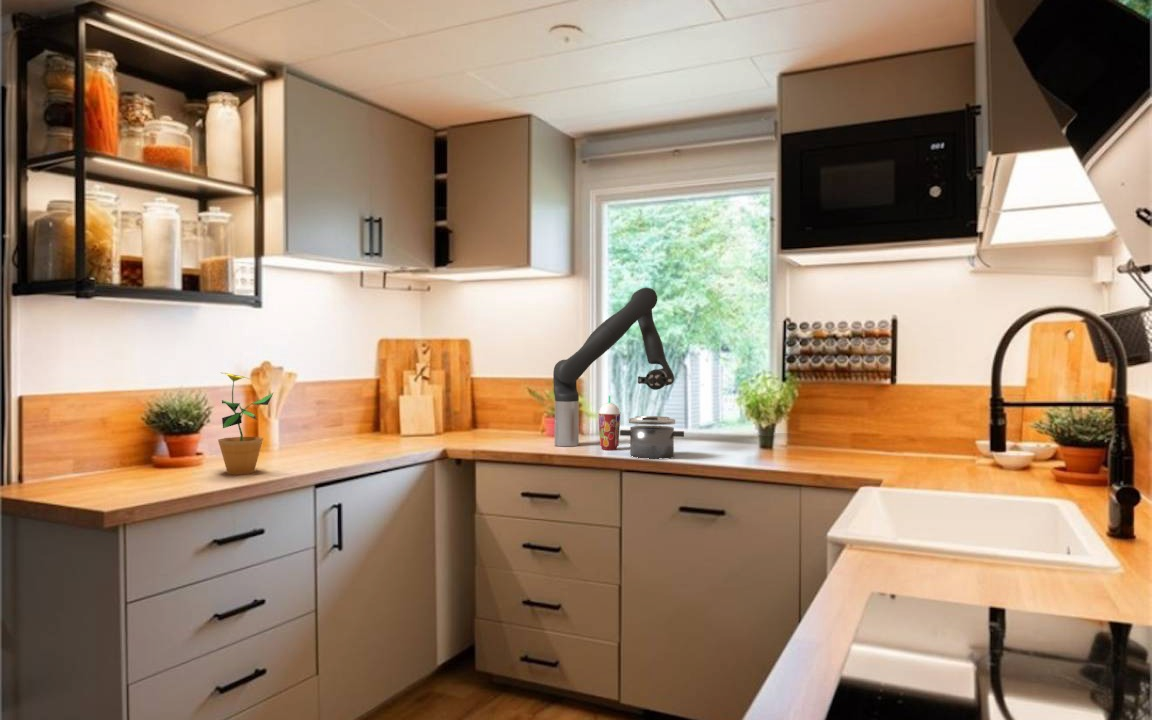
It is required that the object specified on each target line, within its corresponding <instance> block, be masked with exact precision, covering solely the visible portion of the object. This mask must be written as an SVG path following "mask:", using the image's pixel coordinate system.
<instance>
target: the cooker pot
mask: <svg viewBox="0 0 1152 720" xmlns="http://www.w3.org/2000/svg"><path fill="white" fill-rule="evenodd" d="M619 436H627V437H629V436H630V438H629V440H630V442H629V444H630V446H629V447H630V448H629V449H630V452H629V453H630V455H631V456H633V457H638V458H637V459H639V458H649V459H648V460H660V459H659V458H669V459H672V458H671V457H673V456H674V455H675V453H674V452H675V447H674V446H675V444H674V443H675V441H674V439H675V438H674V437H678V438H681V437H682V438H684V437H685V431H684V430H675V429H674V427H673V426H670V425H635V426H630V428H629V429H621V430H620V429H619ZM631 456H630V457H631ZM633 457H632V458H633ZM673 458H674V457H673Z"/></svg>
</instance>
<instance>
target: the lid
mask: <svg viewBox="0 0 1152 720" xmlns="http://www.w3.org/2000/svg"><path fill="white" fill-rule="evenodd" d="M628 423H629V424H633V425H644V426H670V425H676V419H674V418H670V417H669V416H658V415H637V416H634V417H629V418H628Z"/></svg>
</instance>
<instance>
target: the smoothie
mask: <svg viewBox="0 0 1152 720" xmlns="http://www.w3.org/2000/svg"><path fill="white" fill-rule="evenodd" d="M597 413H598V414H597V416H598V431H599V446H600V448H601V450H602V449H603V451H617V450H618V447H619V443H620V441H619V440H620V425H621V415H622V413H621V411H620V409H619V407H618V406H617V405H616V404H614V403H613V402H611V395H608V403H604V404H603V405H602V406H601V407H600V409H599V411H598V412H597Z"/></svg>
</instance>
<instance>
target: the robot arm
mask: <svg viewBox="0 0 1152 720" xmlns="http://www.w3.org/2000/svg"><path fill="white" fill-rule="evenodd" d="M657 304H658V294H657V292H656V291H655V290H654V289H652V288H650V287H643V288H640V289H638V290H636V291H635V292H634V293H633V294H632V296H631V297H630V300H629V301H628V302H627V304H626V305H624V307H622V308H621V309H619V310H618V311H617V312H615V313H614V314H613V315H611V316H609V317H608V318H607V319H606V320H604V321H603V322H601V324H600V325H598V326H597V327H596V329H594V331H592V332H591V334H590V335H589V336H588V338H587V340H585V342H584V343H583V345H582V346H581V347H579V349H578V350H577V351H576V352H575V353H574V354H572V355H571V356H570V357H568V358H567V359H562V360H559V361H558V362H556V363H555V365H554V368H553V382H552V383H553V395H554V447H556V446H557V447H578V446H579V439H580V438H579V435H580V434H579V431H580V430H579V429H580V428H579V427H580V426H579V425H580V424H579V423H580V421H579V420H580V419H579V418H580V417H579V415H580V414H579V410H580V409H579V403H580V401H579V400H580V397H579V395H580V394H579V392H578V387H577V381H578V380H579V379H580V378H581V376H582V375H583V374H584V373H585V372H586V371H587V369H589V367H590V366H591V365H592V363H594V362H595V361H597V360H598V359H599V358H600V357H601V356H602V355H604V354H605V353H606V352H608V351H609V350H610V349H611V348H612V347H613V346H614V345H615V344H616V343H617V342H618V341H619V340H620V339H621V338H622V337H624V335H625V334H626V333H627V332H628V331H629V330H630V329H631V327H632V326H633V325H634V324H635V323H636V322H638V327H639V329H640V332H641V333H640V334H641V337H642V341H643V346H644V350H645V354H646V355H645V356H646V359H647V363H648V364H650V365H660V366H661V367H662V368H656V369H652V370H650V371H648V372H647V374H646V376H637V384H640V385H646V386H647V387H648V388H649V389H651V390H653V391H659V390H660V389H662V388H665V387H666V386H670V385H672V384H673V383H674V382H675V375H674V372H673V371H672V369H671V367H670V365H669V363H668V360H667V358H666V356H665V355H666V354H665V350H664V347H663V342H662V339H661V336H660V334H659V331H658V330H657V328H656V325H655V322H654V317H653V310H654V308H655V307H656V305H657Z"/></svg>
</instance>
